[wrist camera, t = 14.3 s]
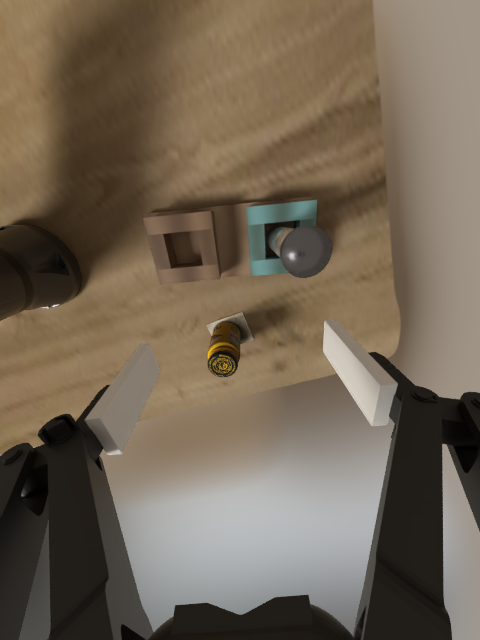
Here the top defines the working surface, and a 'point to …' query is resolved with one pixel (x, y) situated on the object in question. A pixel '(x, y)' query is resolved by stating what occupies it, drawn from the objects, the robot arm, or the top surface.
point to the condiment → (227, 344)
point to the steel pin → (301, 249)
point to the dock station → (222, 238)
